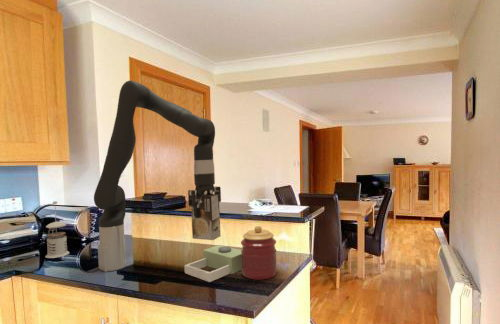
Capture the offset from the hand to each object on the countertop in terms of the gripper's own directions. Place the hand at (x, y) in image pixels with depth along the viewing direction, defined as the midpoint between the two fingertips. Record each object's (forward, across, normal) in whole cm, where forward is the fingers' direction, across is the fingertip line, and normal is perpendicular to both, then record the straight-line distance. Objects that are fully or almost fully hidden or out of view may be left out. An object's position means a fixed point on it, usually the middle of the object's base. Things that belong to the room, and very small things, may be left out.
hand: (205, 216), depth 118 cm
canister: (+22, -11, +16) cm, 29 cm away
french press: (+22, +27, -76) cm, 83 cm away
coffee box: (+8, 0, 0) cm, 8 cm away
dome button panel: (+21, -4, 0) cm, 22 cm away
